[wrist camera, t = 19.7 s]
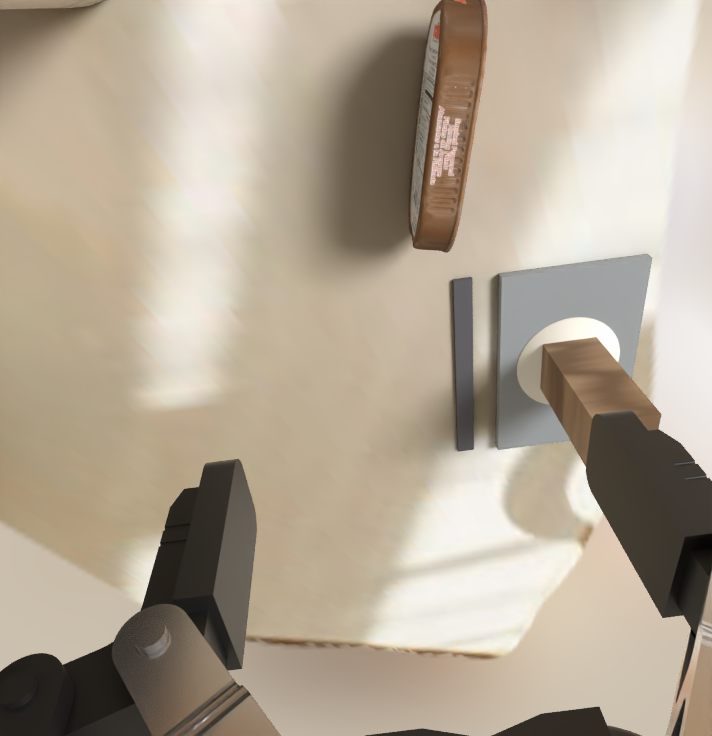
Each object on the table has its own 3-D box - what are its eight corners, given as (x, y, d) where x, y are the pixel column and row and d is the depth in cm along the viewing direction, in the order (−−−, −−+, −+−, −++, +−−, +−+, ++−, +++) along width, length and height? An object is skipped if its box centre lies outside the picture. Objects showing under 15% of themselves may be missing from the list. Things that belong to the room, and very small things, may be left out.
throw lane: (457, 449, 57) (459, 455, 56) (452, 279, 47) (455, 284, 46) (618, 428, 57) (623, 434, 56) (647, 254, 47) (652, 258, 46)
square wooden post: (540, 388, 52) (589, 472, 43) (542, 344, 50) (595, 423, 41) (591, 381, 52) (651, 463, 43) (596, 337, 50) (661, 414, 41)
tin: (437, 229, 45) (461, 272, 38) (397, 227, 45) (413, 270, 38) (470, -2, 37) (508, -3, 30) (421, -6, 37) (448, -8, 30)
